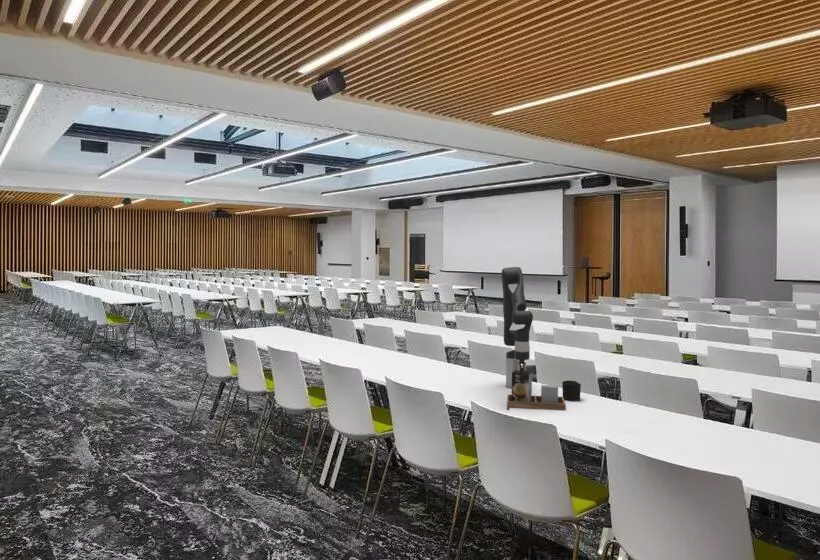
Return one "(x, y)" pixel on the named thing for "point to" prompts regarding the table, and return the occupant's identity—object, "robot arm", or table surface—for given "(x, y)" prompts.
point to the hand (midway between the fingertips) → (521, 381)
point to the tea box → (549, 394)
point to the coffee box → (521, 387)
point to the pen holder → (571, 391)
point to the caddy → (536, 404)
